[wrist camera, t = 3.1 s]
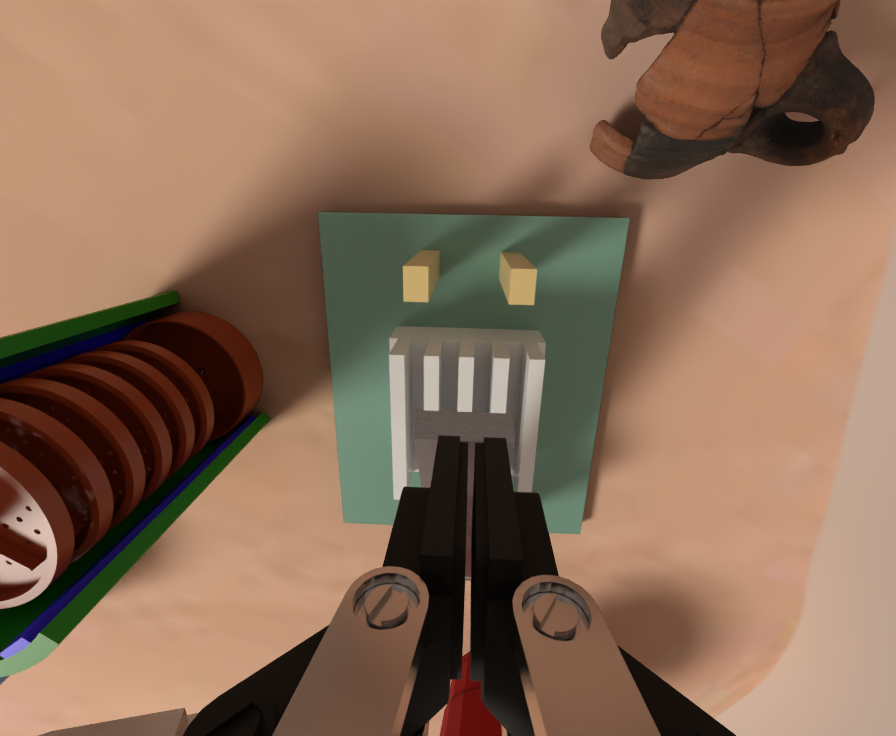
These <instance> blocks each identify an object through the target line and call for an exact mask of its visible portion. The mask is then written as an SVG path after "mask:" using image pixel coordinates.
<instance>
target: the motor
mask: <svg viewBox="0 0 896 736" xmlns="http://www.w3.org/2000/svg"><path fill="white" fill-rule="evenodd" d="M178 302H180V300H179V297H178V294H177V291H172V292H167V293H163V294H160V295H156V296H152V297H148V298H145V299H141V300H137V301H134V302H130V303H126V304H123V305H119V306H115V307H112V308H108V309H104V310H100V311H97V312H93V313H89V314H86V315H82V316H78V317H75V318H71V319H67V320H64V321H60V322H56V323H52V324H49V325H45V326H41V327H38V328H34V329H30V330H27V331H23V332H19V333H16V334H12V335H8V336H4V337H1V338H0V677H5V676H9V675H13V674H16V673H19V672H22V671H24V670H26V669H28V668H30V667H32V666H34V665H36V664H38V663H39V662H41V661H42V660H43V659H45V658H46V657H47V656H48V655H49V654H50V653H51V652H52V651H53V650H54V649H55V648H56V647H57V646H58V645H59V644H60V643H61V642H62V641H63V640H64V639H65V638H66V637H67V636H68V635H69V633H70V632H71V631H72V630H73V629H74V628H75V627H76V626H77V625H78V624H79V623H80V622H81V621H82V620H83V619H84V617H85V616H86V615H87V614H88V613H89V612H90V611H91V610H92V609H93V608H94V607H95V606H96V605H97V604H98V603H99V601H100V600H101V599H102V598H103V597H104V596H105V595H106V594H107V593H108V592H109V591H110V590H111V589H112V588H113V587H114V585H115V584H116V583H117V582H118V581H119V580H120V579H121V578H122V577H123V576H124V575H125V574H126V573H127V572H128V571H129V569H130V568H131V567H132V566H133V565H134V564H135V563H136V562H137V561H138V560H139V559H140V558H141V557H142V556H143V555H144V554H145V552H146V551H147V550H148V549H149V548H150V547H151V546H152V545H153V544H154V543H155V542H156V541H157V540H158V539H159V538H160V536H161V535H162V534H163V533H164V532H165V531H166V530H167V529H168V528H169V527H170V526H171V525H172V524H173V523H174V522H175V520H176V519H177V518H178V517H179V516H180V515H181V514H182V513H183V512H184V511H185V510H186V509H187V508H188V507H189V506H190V504H191V503H192V502H193V501H194V500H195V499H196V498H197V497H198V496H199V495H200V494H201V493H202V492H203V491H204V490H205V489H206V487H207V486H208V485H209V484H210V483H211V482H212V481H213V480H214V479H215V478H216V477H217V476H218V475H219V474H220V473H221V471H222V470H223V469H224V468H225V467H226V466H227V465H228V464H229V463H230V462H231V461H232V460H233V459H234V458H235V457H236V455H237V454H238V453H239V452H240V451H241V450H242V449H243V448H244V447H245V446H246V445H247V444H248V443H249V442H250V441H251V439H252V438H253V437H254V436H255V435H256V434H257V433H258V432H259V431H260V430H261V429H262V428H263V427H264V426H265V425H266V424H267V422H268V421H269V420H270V418H269V417H268V416H267V415H265V414H264V413H263V412H262V413H261V414H260V415H259V416H258V417H257V418H256V417H255V416H254V415H253V416H252V417H250V418H249V419H248V420H246V421H245V422H244V423H242V424H241V425H240V426H239V427H238V428H237V429H235V430H234V431H233V432H229V431H230V430H232V429H233V428H234V427H235V426H236V425H237V424H238V423H239V422H240V421H241V420H242V419H243V418H244V417H246V416H247V415H248V414H249V413H250V412H251V411H252V410H253V408H254V407H255V406H256V404H257V402H258V400H259V398H260V395H261V392H262V387H263V374H262V368H261V364H260V361H259V359H258V356H257V354H256V352H255V350H254V349H253V347H252V346H251V344H250V343H249V341H248V340H247V339H246V338H245V337H244V336H243V335H242V334H241V333H240V332H239V331H238V330H237V329H236V328H235V327H233V326H232V325H230V324H229V323H227V322H226V321H224V320H222V319H220V318H218V317H215V316H213V315H210V314H206V313H202V312H195V311H184V312H177V313H173V314H170V315H167V316H165V317H162V318H159V319H156V320H153V321H150V322H147V323H146V322H145V321H144V319H145V318H146V317H147V316H148V315H149V314H151V313H152V312H153V311H155V310H156V309H159V308H162V307H166V306H169V305H172V304H175V303H178ZM199 367H201V368H203V369H205V371H206V375H205V376H202V375H200V374H199V373H198V368H199ZM228 432H229V433H228Z"/></svg>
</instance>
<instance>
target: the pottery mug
mask: <svg viewBox="0 0 896 736" xmlns="http://www.w3.org/2000/svg"><path fill="white" fill-rule="evenodd" d="M839 6H840V0H611V5H610V12H609V16H608V18H607V20H606V22H605V24H604V26H603V28H602V32H601V38H602V43H603V46H604V51H605V54H606V55H607V57H608V58H609V59H614V58H615V57H617V56H618V55H619V54H620V53H621V52H622V51H623V49H624V48H625V47H626V45H627V44H628V43H631V42H637V41H639V40H641V39H644V38H647V37H650V36H652V35H656V34H665V33H671V32H673V33H674V36H673V37H672V39H671V40H670V41H669V42H668V43H667V45H666V46H665V47H664V49H663V50H662V52H661V53H660V55H659V56H658V57H657V59H656V60H655V61H654V62H653V64H652V65H651V66H650V68H649V69H648V70H647V71H646V72H645V73H644V74H643V75H642V77H641V78H640V79H639V81H638V82H637V90H636V94H635V100H636V106H637V107H638V109H639V110H640V111H641V113H643V114H644V115H645V119H644V120H643V121H642V123H641V126H640V131H639V135H638V137H637V140H636V141H633V140H631V139H630V138H628V137H626V136H624V135H623V134H622V133H620V132H619V131H617V130H616V129H615V128H614V127H613V126H611V125H610V124H609V123H608V122H607V121H606V120H602V121H600V122H599V123H598V124H597V125H596V126H595V128H594V131H593V138H592V141H591V144H590V149H591V152H592V153H593V154H594V155H595V156H596V157H597V158H598V159H599V160H600V161H602V162H603V163H605V164H606V165H607V166H609V167H611V168H613V169H615V170H617V171H619V172H622V173H624V174H626V175H628V176H632V177H637V178H642V179H663V178H669V177H673V176H676V175H678V174H680V173H682V172H685V171H687V170H688V169H690V168H692V167H694V166H696V165H699V164H701V163H703V162H706V161H708V160H711V159H714V158H715V157H717V156H719V155H724V154H725V153H727V152H730V153H744V154H748V155H752V156H754V157H758V158H760V159H763V160H765V161H768V162H772V163H776V164H781V165H787V166H805V165H811V164H815V163H818V162H821V161H824V160H826V159H828V158H830V157H832V156H834V155H839V154H842V153H844V152H845V150H846V148H847V146H848V145H849V144H850V143H852V142H854V141H856V140H857V139H858V138H859V137H860V135H861V134H862V132H863V130H864V128H865V127H866V126H867V124H868V123H869V121H870V119H871V117H872V114H873V111H874V92H873V89H872V87H871V85H870V83H869V81H868V80H867V79H866V77H865V76H864V75H863V73H862V72H861V71H860V70H859V69H858V68H856V67H855V66H854V65H853V64H852V63H851V62H850V61H849V60H848V59H847V58H846V57H845V56H844V55H843V54H842V52H841V50H840V48H839V44H838V38H837V34H836V32H834V31H828V32H827V30H828V28H829V27H830V24H831V19H835V18H836V17H837V14H838V11H839ZM785 112H801V113H805V114H808V115H811V116H813V117H815V118H817V119H818V120H819V121H815V122H798V121H793V120H791V119H789V118H788V117H787V116H786V115H785Z"/></svg>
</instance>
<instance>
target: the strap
mask: <svg viewBox="0 0 896 736" xmlns="http://www.w3.org/2000/svg"><path fill="white" fill-rule="evenodd" d="M438 435H443V436H460V442H468V483H467V528H466V566H465V580H469V581H471V531H472V507H473V483H474V458H475V443H484V437H492V438H506V441H507V448H508V455H509V462H510V460H511V456H512V451H513V447H514V443H515V442H514V419H513V414H507V413H481V412H455V411H429V410H417V412H416V421H415V430H414V445H415V451H416V457H417V463H418V469H419V475H420V481H421V487H426V488H430V486H431V479H432V473H433V467H434V460H435V454H436V447H437V441H438Z"/></svg>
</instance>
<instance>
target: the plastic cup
mask: <svg viewBox="0 0 896 736" xmlns="http://www.w3.org/2000/svg"><path fill="white" fill-rule="evenodd" d="M501 725H502V724H501V723H500V722H499V721H498V720H497V719H496V718H495V717H494V716H493V714H492V713H491V712H490V711H489V710H488V709H487V708H486V707H485V705H484V702H481V681H470V652H469V653H467V654H466V655H465V656H463V657H462V675H461V680H454V679H452V681H451V686H450V695H449V699H448V703H447V707H446V709H445V711H444V716H443V721H442V727H441V732H440V736H502V727H501Z"/></svg>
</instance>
